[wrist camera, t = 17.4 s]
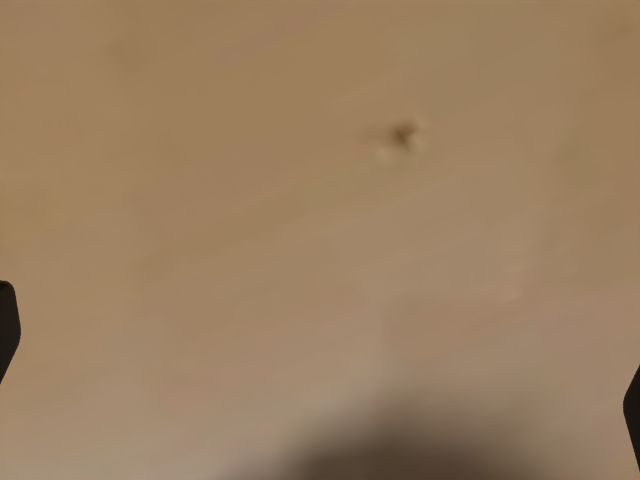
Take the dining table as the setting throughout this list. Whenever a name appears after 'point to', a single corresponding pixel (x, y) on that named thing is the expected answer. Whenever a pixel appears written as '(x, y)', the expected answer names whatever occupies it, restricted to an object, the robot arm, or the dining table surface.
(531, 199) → the dining table surface
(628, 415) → the robot arm
